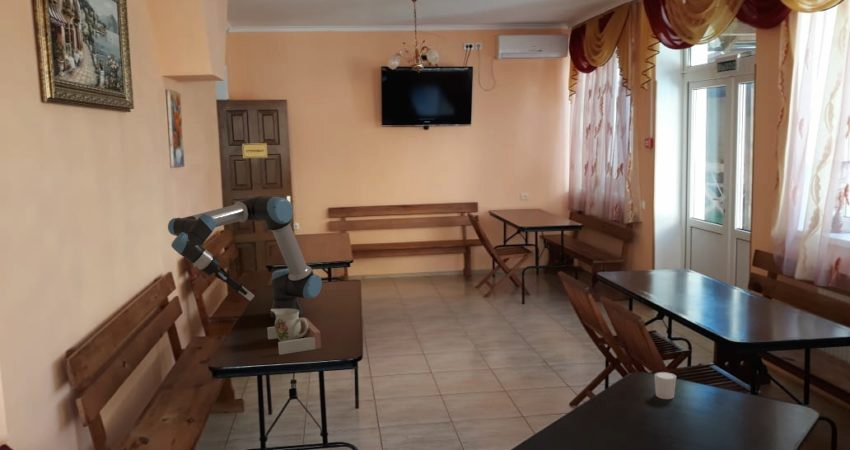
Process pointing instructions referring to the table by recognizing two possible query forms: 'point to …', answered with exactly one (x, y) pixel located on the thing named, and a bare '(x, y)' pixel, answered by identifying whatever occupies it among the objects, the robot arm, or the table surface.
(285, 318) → the pitcher
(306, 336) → the deck bay
